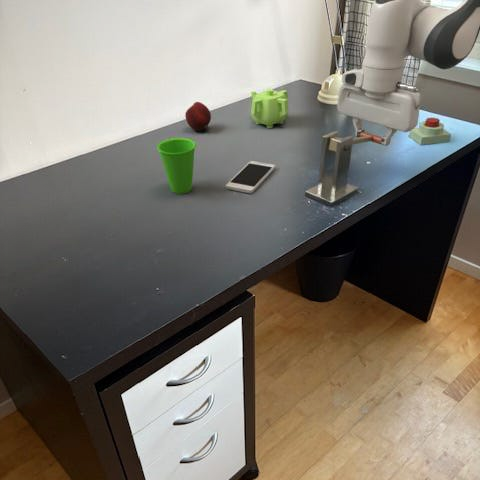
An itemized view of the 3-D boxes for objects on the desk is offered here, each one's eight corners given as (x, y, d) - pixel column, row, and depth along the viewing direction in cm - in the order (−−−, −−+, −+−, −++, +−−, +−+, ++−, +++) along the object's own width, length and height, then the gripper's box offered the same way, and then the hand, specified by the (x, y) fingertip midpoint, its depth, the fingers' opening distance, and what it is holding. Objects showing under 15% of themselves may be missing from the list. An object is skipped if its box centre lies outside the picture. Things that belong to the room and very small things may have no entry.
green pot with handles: (287, 116, 154) (288, 83, 147) (289, 129, 145) (290, 95, 139) (250, 116, 154) (250, 84, 148) (250, 130, 146) (250, 96, 139)
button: (433, 123, 136) (435, 116, 135) (440, 127, 133) (442, 121, 132) (422, 124, 136) (423, 118, 134) (429, 129, 133) (430, 122, 132)
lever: (362, 139, 117) (364, 129, 116) (383, 145, 114) (385, 135, 112) (321, 147, 107) (323, 135, 106) (343, 154, 104) (345, 143, 102)
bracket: (331, 181, 118) (337, 125, 109) (357, 192, 114) (366, 134, 105) (305, 195, 113) (309, 137, 104) (331, 207, 109) (338, 147, 100)
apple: (199, 123, 151) (197, 97, 145) (217, 129, 147) (215, 102, 141) (182, 130, 147) (179, 103, 141) (200, 136, 143) (198, 108, 137)
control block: (436, 132, 140) (439, 118, 137) (449, 141, 135) (453, 127, 132) (408, 136, 139) (411, 122, 136) (420, 145, 134) (423, 130, 131)
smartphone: (225, 188, 117) (225, 185, 116) (250, 163, 127) (250, 160, 126) (251, 193, 114) (251, 190, 114) (275, 168, 125) (275, 164, 124)
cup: (155, 190, 117) (148, 146, 110) (182, 177, 122) (178, 134, 115) (180, 201, 113) (174, 156, 105) (207, 187, 118) (203, 144, 110)
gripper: (431, 84, 101) (417, 148, 110) (353, 67, 112) (346, 126, 122) (415, 91, 98) (402, 156, 107) (336, 73, 109) (330, 133, 119)
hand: (371, 140), depth 115 cm, fingers closed on lever, 6 cm apart
